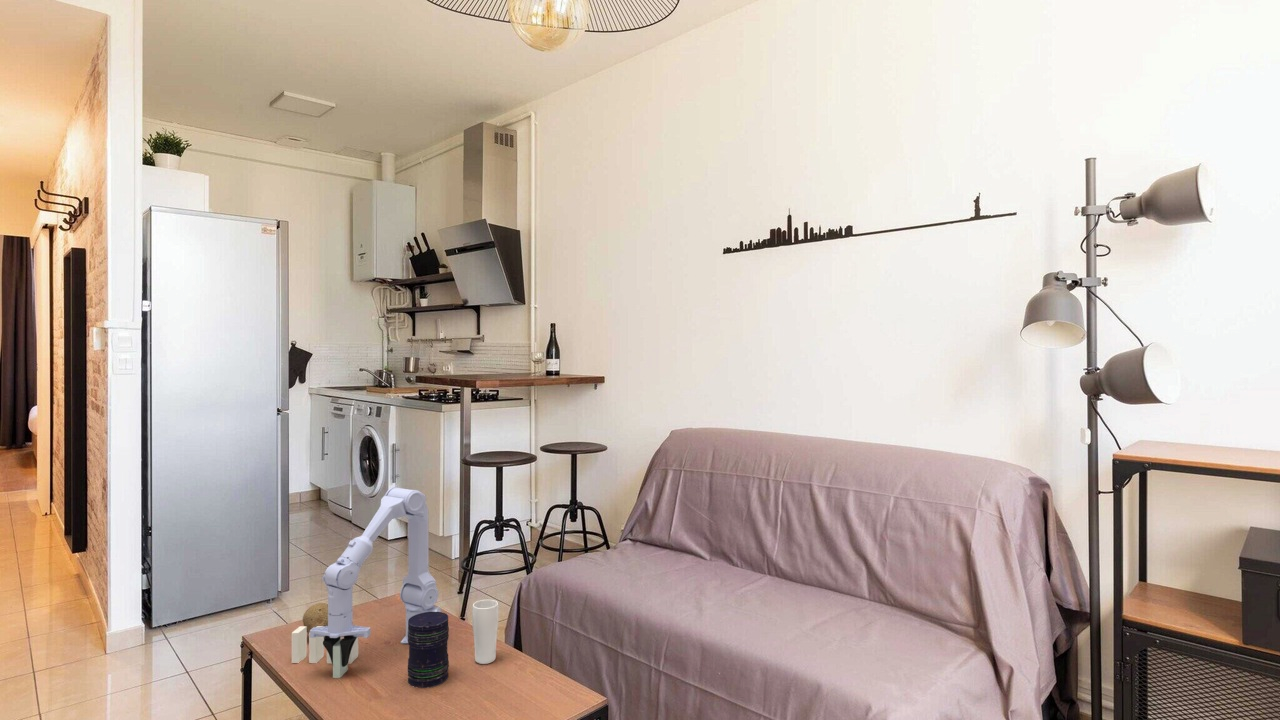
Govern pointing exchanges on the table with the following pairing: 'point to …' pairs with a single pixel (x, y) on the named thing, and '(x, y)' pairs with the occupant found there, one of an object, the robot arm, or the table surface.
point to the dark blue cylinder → (428, 649)
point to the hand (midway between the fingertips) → (340, 665)
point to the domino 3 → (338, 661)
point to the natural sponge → (316, 616)
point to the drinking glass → (485, 630)
